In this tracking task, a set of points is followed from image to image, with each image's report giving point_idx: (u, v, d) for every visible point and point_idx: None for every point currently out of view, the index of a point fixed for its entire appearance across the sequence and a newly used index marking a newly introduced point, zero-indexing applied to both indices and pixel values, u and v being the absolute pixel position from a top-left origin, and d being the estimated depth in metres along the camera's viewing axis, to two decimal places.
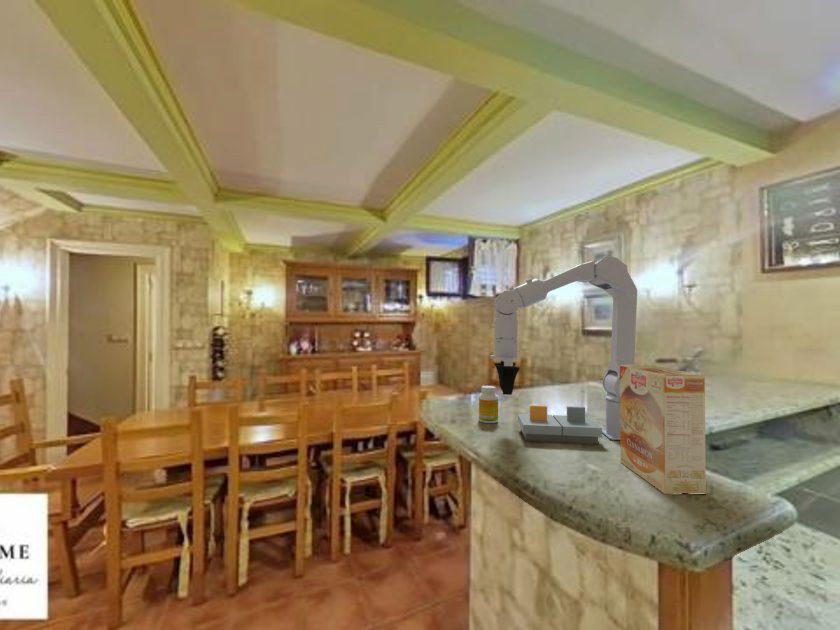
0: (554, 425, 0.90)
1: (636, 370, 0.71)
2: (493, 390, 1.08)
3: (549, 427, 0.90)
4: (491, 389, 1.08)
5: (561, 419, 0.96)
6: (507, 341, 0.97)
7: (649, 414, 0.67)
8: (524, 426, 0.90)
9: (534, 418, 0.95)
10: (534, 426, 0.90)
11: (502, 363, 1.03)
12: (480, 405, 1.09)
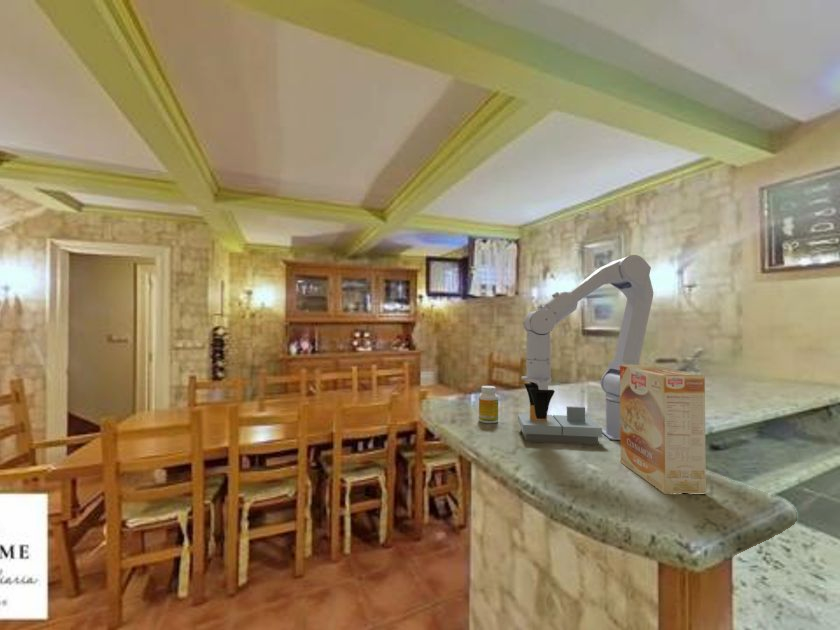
0: (554, 425, 0.90)
1: (636, 370, 0.71)
2: (493, 390, 1.08)
3: (549, 427, 0.90)
4: (491, 389, 1.08)
5: (561, 419, 0.96)
6: (540, 363, 0.93)
7: (649, 414, 0.67)
8: (524, 426, 0.90)
9: (534, 418, 0.95)
10: (534, 426, 0.90)
11: (533, 384, 0.99)
12: (480, 405, 1.09)
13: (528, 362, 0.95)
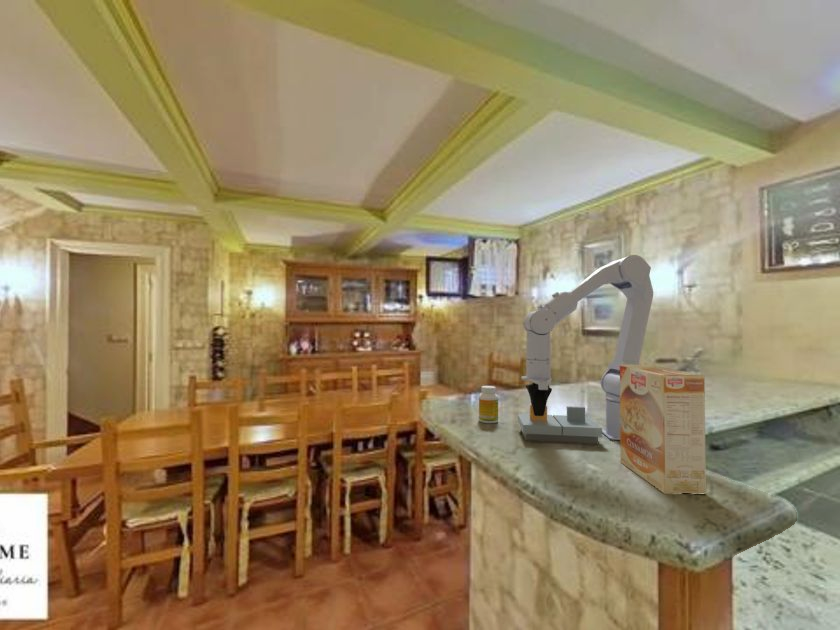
0: (554, 425, 0.90)
1: (636, 370, 0.71)
2: (493, 390, 1.08)
3: (549, 427, 0.90)
4: (491, 389, 1.08)
5: (561, 419, 0.96)
6: (540, 363, 0.93)
7: (648, 414, 0.67)
8: (524, 426, 0.90)
9: (534, 418, 0.95)
10: (534, 426, 0.90)
11: (535, 386, 0.96)
12: (480, 405, 1.09)
13: (528, 362, 0.95)
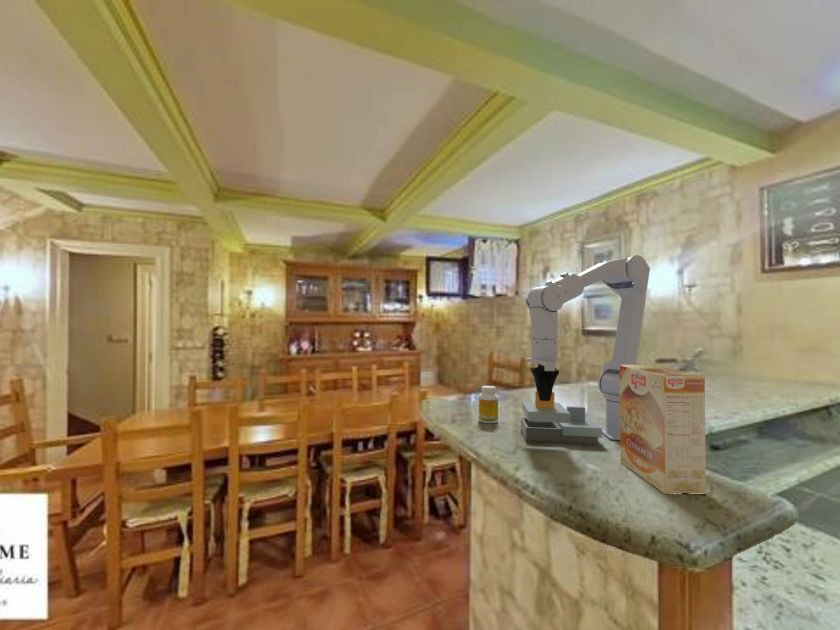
0: (562, 412, 0.82)
1: (636, 370, 0.71)
2: (493, 390, 1.08)
3: (557, 414, 0.81)
4: (491, 389, 1.08)
5: None
6: (546, 342, 0.85)
7: (649, 414, 0.67)
8: (529, 413, 0.82)
9: (540, 405, 0.87)
10: (540, 413, 0.82)
11: (540, 368, 0.88)
12: (480, 405, 1.09)
13: (533, 342, 0.87)
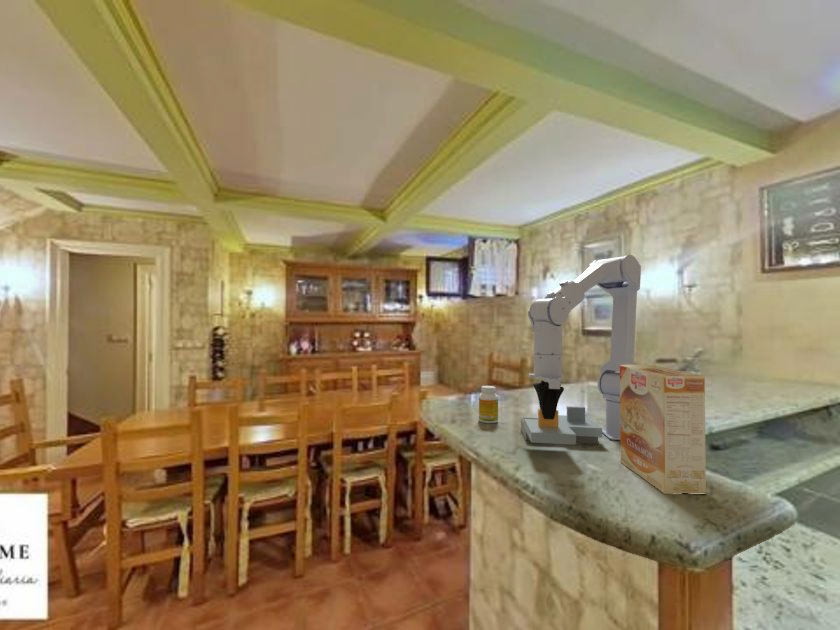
0: (567, 433, 0.78)
1: (636, 370, 0.71)
2: (493, 390, 1.08)
3: (561, 435, 0.77)
4: (491, 389, 1.08)
5: (561, 419, 0.96)
6: (550, 358, 0.81)
7: (649, 414, 0.67)
8: (532, 434, 0.78)
9: (543, 424, 0.83)
10: (544, 434, 0.78)
11: (544, 384, 0.84)
12: (480, 405, 1.09)
13: (536, 357, 0.82)
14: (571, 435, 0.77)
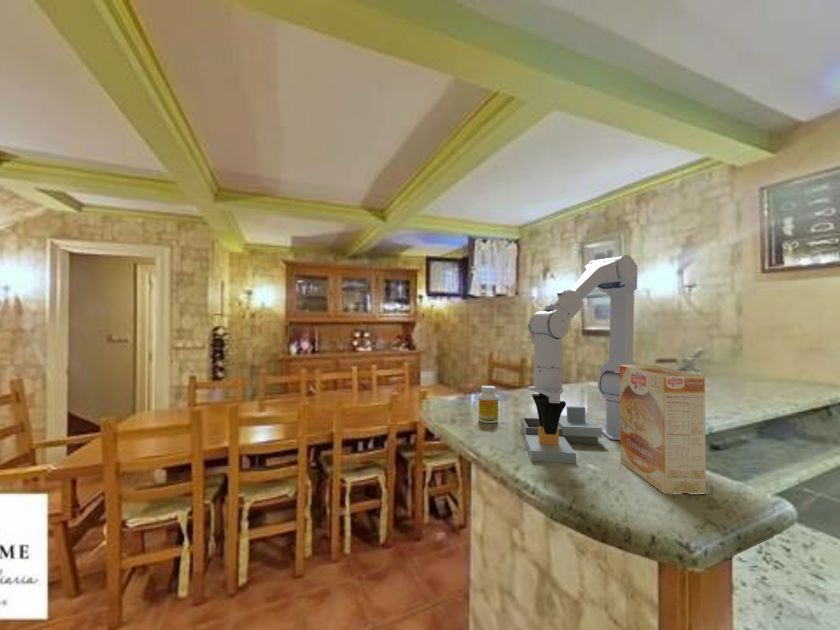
0: (567, 451, 0.78)
1: (636, 370, 0.71)
2: (493, 390, 1.08)
3: (561, 454, 0.77)
4: (491, 389, 1.08)
5: (561, 419, 0.96)
6: (550, 371, 0.80)
7: (649, 414, 0.67)
8: (532, 452, 0.78)
9: (544, 442, 0.82)
10: (544, 452, 0.78)
11: (542, 396, 0.86)
12: (480, 405, 1.09)
13: (536, 370, 0.82)
14: (571, 454, 0.77)
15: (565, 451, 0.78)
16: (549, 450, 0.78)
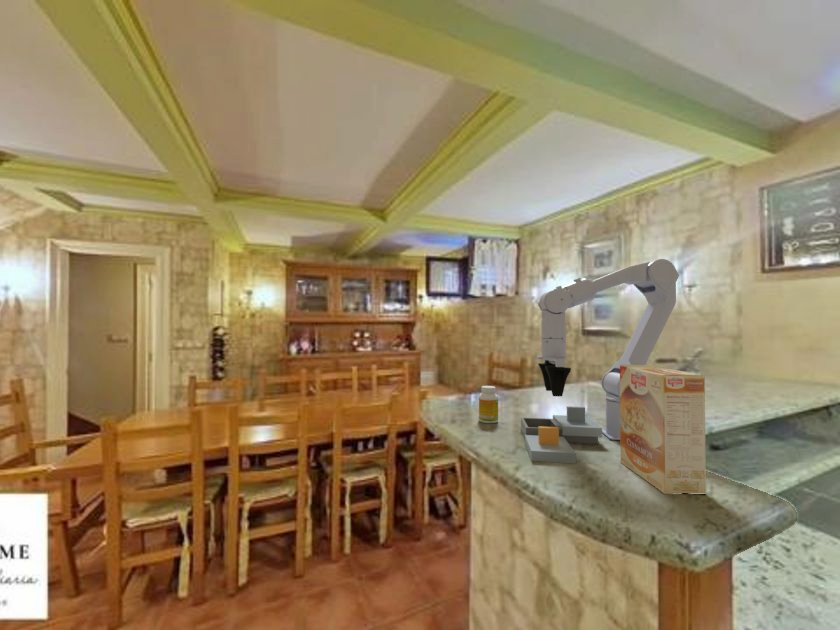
0: (567, 451, 0.78)
1: (636, 370, 0.71)
2: (493, 390, 1.08)
3: (561, 454, 0.77)
4: (491, 389, 1.08)
5: (561, 419, 0.96)
6: (556, 341, 0.94)
7: (648, 414, 0.67)
8: (532, 452, 0.78)
9: (544, 442, 0.82)
10: (544, 452, 0.78)
11: (547, 364, 1.00)
12: (480, 405, 1.09)
13: (544, 341, 0.96)
14: (571, 454, 0.77)
15: (565, 451, 0.78)
16: (549, 450, 0.78)
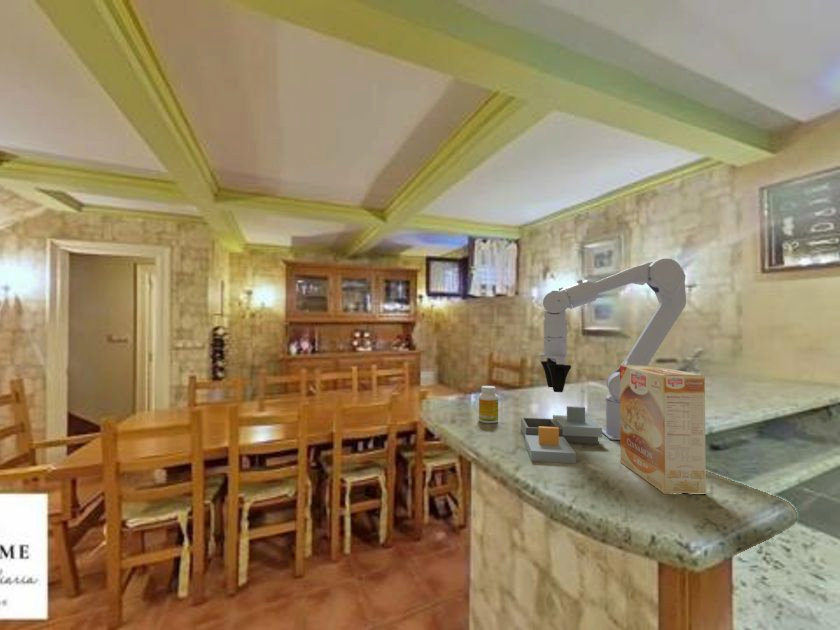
0: (567, 451, 0.78)
1: (636, 370, 0.71)
2: (493, 390, 1.08)
3: (561, 454, 0.77)
4: (491, 389, 1.08)
5: (561, 419, 0.96)
6: (557, 340, 0.99)
7: (648, 414, 0.67)
8: (532, 452, 0.78)
9: (544, 442, 0.82)
10: (544, 452, 0.78)
11: (549, 361, 1.06)
12: (480, 405, 1.09)
13: (546, 340, 1.01)
14: (571, 454, 0.77)
15: (565, 451, 0.78)
16: (549, 450, 0.78)
